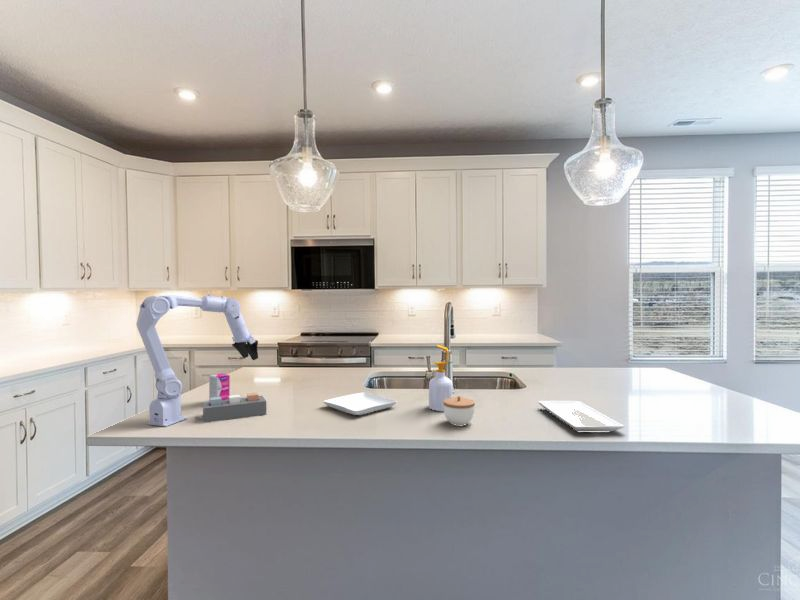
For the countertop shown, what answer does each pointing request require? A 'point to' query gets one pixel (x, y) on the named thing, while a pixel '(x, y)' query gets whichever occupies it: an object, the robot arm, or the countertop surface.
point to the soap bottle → (440, 386)
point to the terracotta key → (252, 397)
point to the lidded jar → (458, 410)
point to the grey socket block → (234, 409)
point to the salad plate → (360, 403)
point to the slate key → (215, 401)
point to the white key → (234, 399)
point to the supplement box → (219, 386)
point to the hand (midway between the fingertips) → (250, 358)
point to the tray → (565, 414)
